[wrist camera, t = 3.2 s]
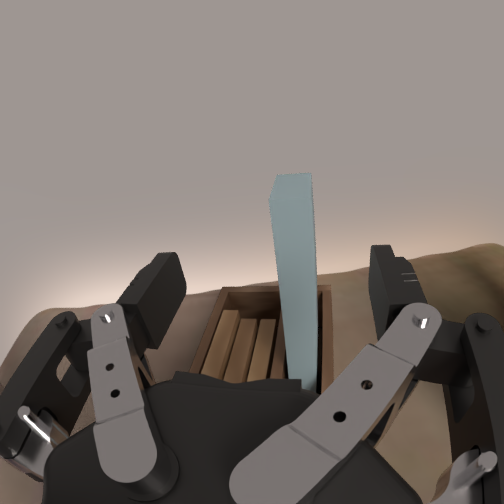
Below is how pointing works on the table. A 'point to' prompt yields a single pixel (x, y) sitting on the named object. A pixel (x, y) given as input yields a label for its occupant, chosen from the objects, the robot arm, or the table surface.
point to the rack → (269, 307)
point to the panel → (297, 273)
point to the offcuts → (241, 349)
